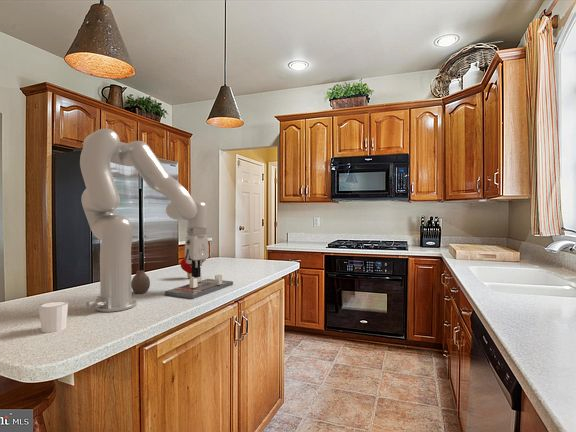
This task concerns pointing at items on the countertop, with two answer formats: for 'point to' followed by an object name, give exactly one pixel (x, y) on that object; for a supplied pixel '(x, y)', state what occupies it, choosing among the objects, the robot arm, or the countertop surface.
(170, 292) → the switch panel
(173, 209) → the robot arm
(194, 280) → the handle
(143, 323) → the countertop surface
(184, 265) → the light bulb
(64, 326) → the white cup
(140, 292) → the vase
